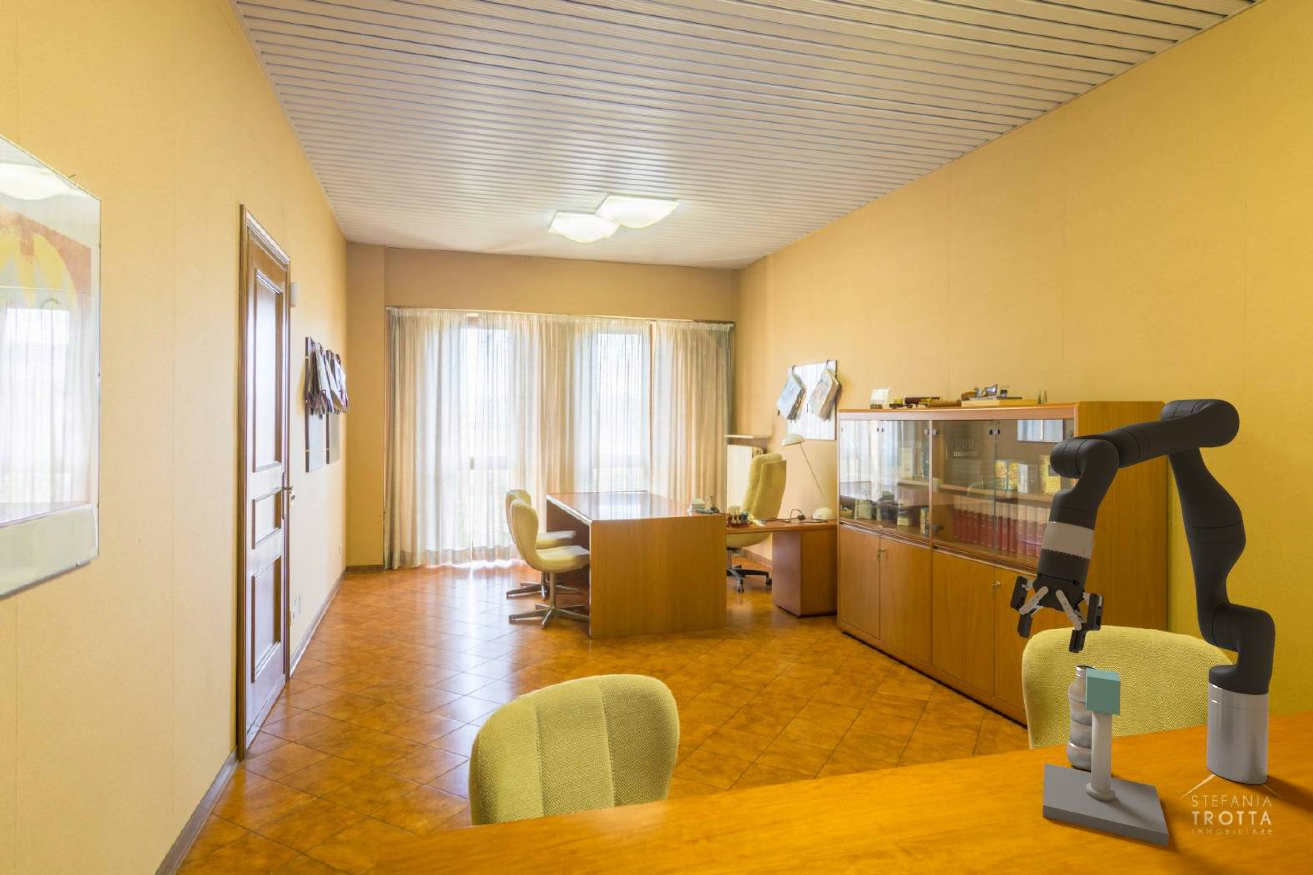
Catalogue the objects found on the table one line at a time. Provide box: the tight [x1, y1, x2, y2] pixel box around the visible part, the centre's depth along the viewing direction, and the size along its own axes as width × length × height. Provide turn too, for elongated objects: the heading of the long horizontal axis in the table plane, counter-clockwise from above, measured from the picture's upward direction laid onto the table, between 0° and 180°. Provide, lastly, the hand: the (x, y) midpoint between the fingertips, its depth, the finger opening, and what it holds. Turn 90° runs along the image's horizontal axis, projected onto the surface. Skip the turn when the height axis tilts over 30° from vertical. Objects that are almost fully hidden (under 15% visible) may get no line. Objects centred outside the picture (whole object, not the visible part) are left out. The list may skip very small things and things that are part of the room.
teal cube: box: [1086, 668, 1122, 716], centre depth 129 cm, size 5×5×6 cm
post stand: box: [1042, 711, 1170, 847], centre depth 129 cm, size 18×18×18 cm
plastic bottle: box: [1065, 664, 1098, 771], centre depth 144 cm, size 6×7×20 cm
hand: (1047, 644), depth 123 cm, fingers open, 8 cm apart
